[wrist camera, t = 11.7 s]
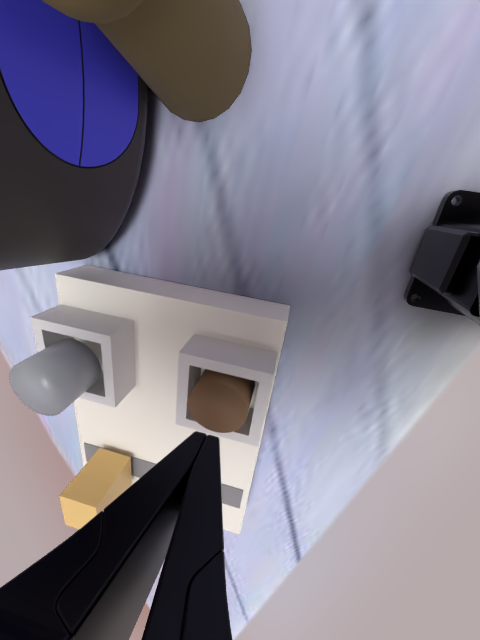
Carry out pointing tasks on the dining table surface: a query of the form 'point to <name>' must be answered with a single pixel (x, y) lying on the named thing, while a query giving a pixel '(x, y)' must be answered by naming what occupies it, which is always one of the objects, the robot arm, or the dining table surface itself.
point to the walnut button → (221, 401)
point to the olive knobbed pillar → (176, 47)
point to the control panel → (165, 366)
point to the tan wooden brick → (95, 487)
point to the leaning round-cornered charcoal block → (64, 136)
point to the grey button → (55, 376)
